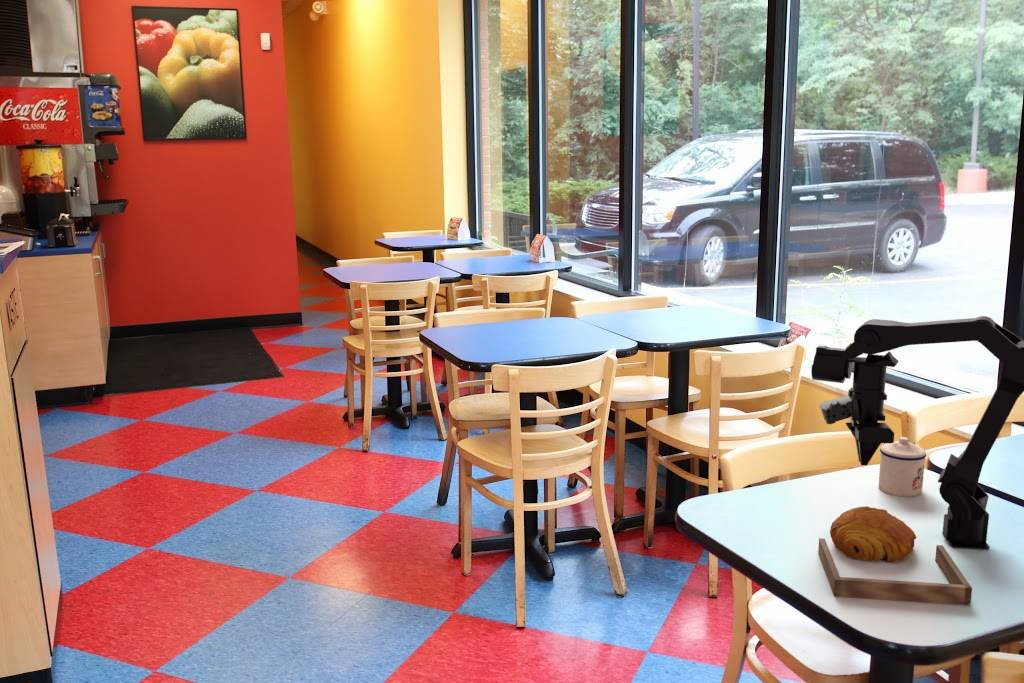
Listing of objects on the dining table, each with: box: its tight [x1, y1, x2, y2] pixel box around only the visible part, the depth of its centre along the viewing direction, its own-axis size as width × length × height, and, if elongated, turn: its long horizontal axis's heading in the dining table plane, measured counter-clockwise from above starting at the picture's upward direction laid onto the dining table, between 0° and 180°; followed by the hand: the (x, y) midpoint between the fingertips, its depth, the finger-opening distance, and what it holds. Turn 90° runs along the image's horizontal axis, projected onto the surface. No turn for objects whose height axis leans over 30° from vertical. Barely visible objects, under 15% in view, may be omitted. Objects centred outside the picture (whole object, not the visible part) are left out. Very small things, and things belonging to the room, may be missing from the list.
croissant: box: [829, 505, 917, 564], centre depth 164 cm, size 14×16×8 cm
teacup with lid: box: [878, 436, 927, 498], centre depth 192 cm, size 12×9×12 cm
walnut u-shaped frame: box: [817, 537, 973, 606], centre depth 153 cm, size 21×16×3 cm
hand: (863, 463), depth 174 cm, fingers closed
